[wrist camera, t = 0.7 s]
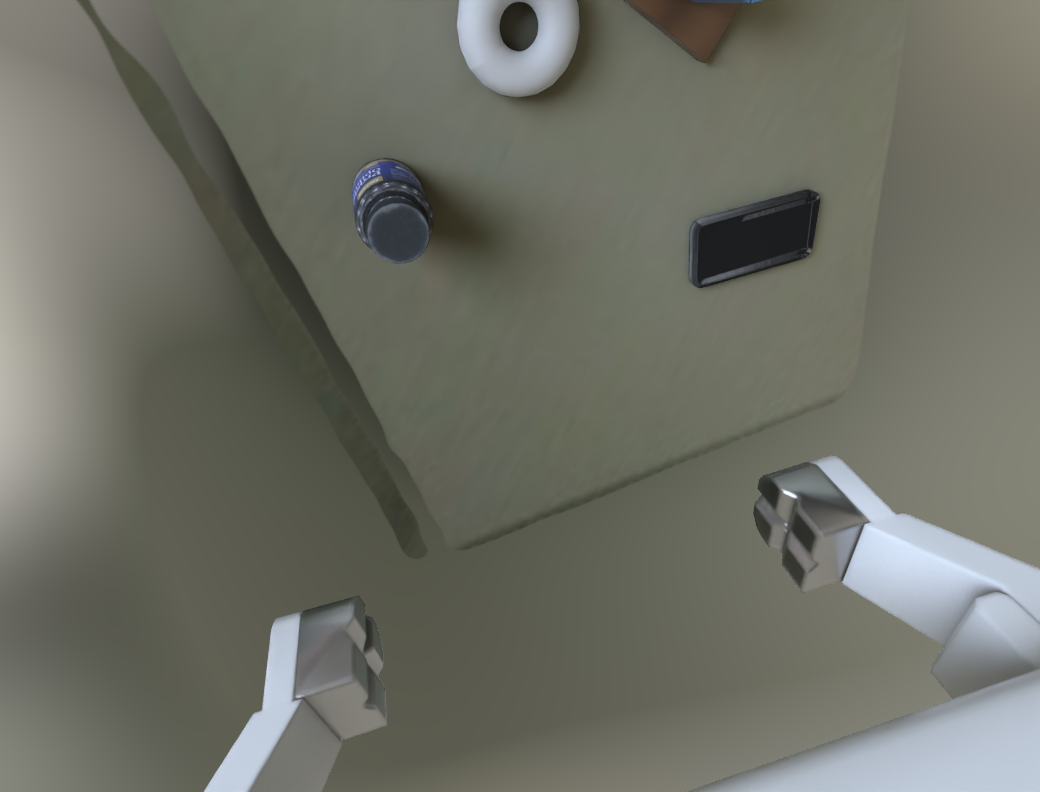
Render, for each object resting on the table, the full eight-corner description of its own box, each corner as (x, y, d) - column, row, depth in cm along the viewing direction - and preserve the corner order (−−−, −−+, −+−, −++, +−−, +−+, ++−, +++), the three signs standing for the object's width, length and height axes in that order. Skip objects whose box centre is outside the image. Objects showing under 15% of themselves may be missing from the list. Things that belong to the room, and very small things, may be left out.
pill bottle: (365, 144, 49) (373, 177, 40) (431, 174, 51) (453, 211, 43) (342, 211, 51) (345, 256, 42) (406, 237, 54) (422, 283, 45)
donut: (593, 12, 48) (501, -87, 42) (610, 14, 45) (514, -92, 40) (522, 119, 51) (428, 39, 46) (534, 126, 48) (435, 43, 43)
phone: (811, 256, 66) (693, 290, 65) (804, 252, 67) (688, 286, 66) (821, 188, 62) (695, 223, 60) (814, 186, 63) (690, 220, 61)
